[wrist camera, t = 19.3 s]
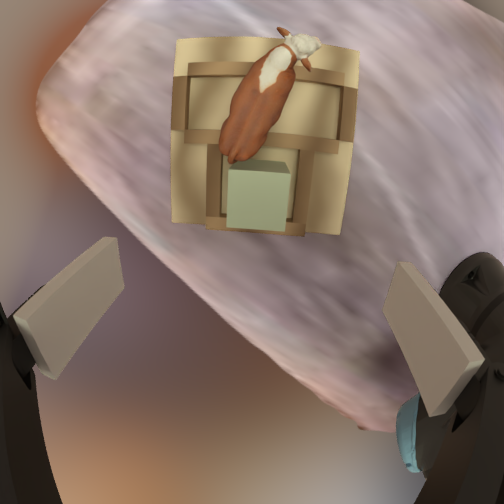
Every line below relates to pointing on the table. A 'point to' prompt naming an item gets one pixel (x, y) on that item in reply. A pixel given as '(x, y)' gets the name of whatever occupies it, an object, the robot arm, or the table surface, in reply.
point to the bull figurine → (263, 96)
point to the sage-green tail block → (258, 195)
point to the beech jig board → (278, 137)
